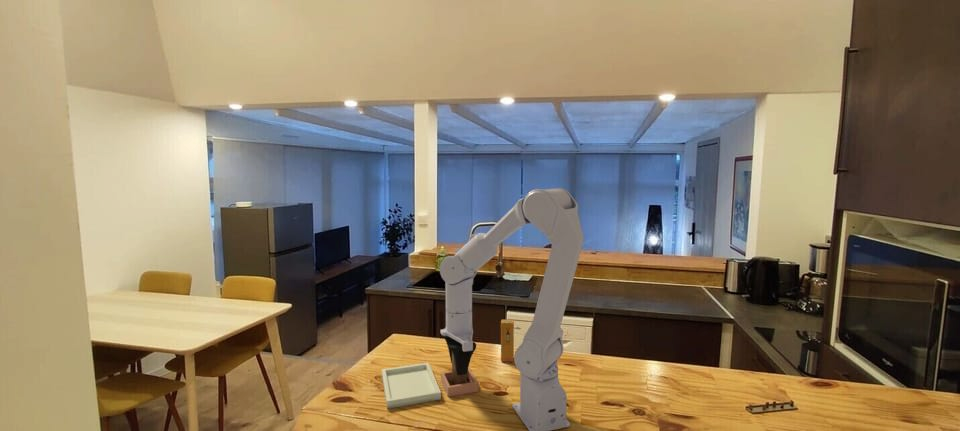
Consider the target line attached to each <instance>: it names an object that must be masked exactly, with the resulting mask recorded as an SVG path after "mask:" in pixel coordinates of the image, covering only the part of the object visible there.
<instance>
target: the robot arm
mask: <svg viewBox="0 0 960 431" xmlns="http://www.w3.org/2000/svg"><path fill="white" fill-rule="evenodd" d="M578 211H579V204H578V203H577V201H576V200H575V198H573V196H572V195H571V193H570V192H569V191H568V190H566V189H564V188H561V187H553V188H550V189H549V188H548V189H541V188H537V189H533V190H530V191H529V192H528V193H527V194H526V195H525V196H524V197H522V198H520V199H519V200H517V202H516V203H515V205H514V206H513V207H512V208H511V209H510V210H508V212H506V214H504V215H503V216H502V217H501V219H500V220H498V221H497V223H495V224H494V225H493V226H492V227H491V228H490V229H489V231H487V232H486V233H485V232H478V233H472V234H471V235H470V236H469V237H468V239H469V240H468V241H467V242H466V243H465V244H464V245H463V246H462V247H458V248H457V249H455V254H454V255H448V256H445V257H444V258H443V259H442V261H441V262H440V265H439V274H440V276H441V279H442V280H443V281H444V282H445V328H443V329H441V328H440V334H441V336H442V337H443V338H444V340H445V342H446V345H447V346H446V347H447V349H448V354H449V358H450V362H451V364H452V353H453V356H454V361H455V368H456V372H457V375H464V374H467V371H468V369H469V367H470V362H471V359H472V357H473V355H474V353H475V350H476V349H477V344H476V342H475V341H473V334H474V328H473V285H474V278H475V277H476V275H477V274H478V270H479V269H480V268H482V267H483V266H485V264H487V263H488V262H489V261H490V260H491V259H492V258H494V257H495V256H496V255H497V253H498V247H499V246H498V245H500V244H501V243H502V242H504V241H505V240H506V239H508V238H509V237H510V236H513V234H515V233H516V232H517V231H518V230H519V229H521V228H522V227H524V226H525V225H528V224H532V225H533V226H534V227H535V228H536V229H538V230H539V231H540V232H541V233H543V234H544V235H545V237H546V238H547V240H548V242H550V244H551V248H550V252H549V256H548V260H547V264H546V266H545V271H544V274H543V280H542V283H541V287H540V291H539V295H538V299H537V303H536V307H535V311H534V314H533V319H532V322H531V324H530V326H529V328H528V329H527V331H526V332H525V335H524V336H523V340H522V343H521V344H520V345H519V346H518V347H517V348H516V350H515V351H514V364H515V367H516V369H517V370H518V371H519V372H520V374H519V376H520V379H519V380H520V382H519V386H520V390H519V402H516V403H513V404H512V405H511V406H512V409H513V410H514V411H515V412H516V415H517V416H518V417H519V418H520V420H521V421H522V422H523V424H524V426H525V427H526V429H527V430H528V431H555V430H559V429H564V428H570V426H571V423H570V421H569V420H568V419H567V401H568V400H567V399H568V398H567V393H566V390H565V389H564V388H563V386H562V384H561V383H560V378H559V365H558V360H559V359H560V358H561V357H562V355H563V352H564V343H563V336H564V329H562V322H563V319H564V314H565V311H566V307H567V304H568V300H569V296H570V292H571V290H572V289H571V288H572V286H573V282H574V278H575V274H576V270H577V267H578V264H579V260H580V256H581V253H582V249H583V245H584V233H583V230H582V225H581V222H580V221H581V220H580V217H579V213H578Z"/></svg>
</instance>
